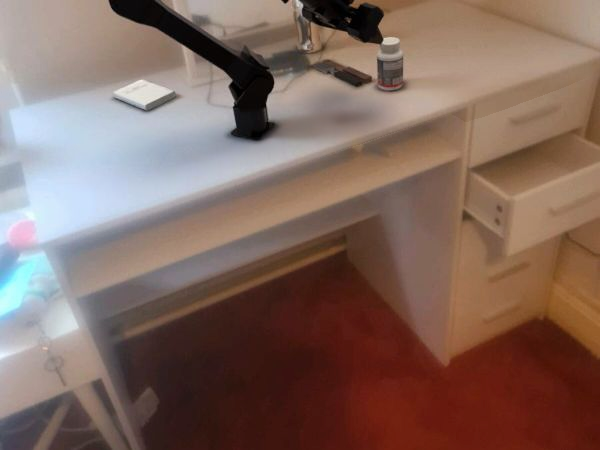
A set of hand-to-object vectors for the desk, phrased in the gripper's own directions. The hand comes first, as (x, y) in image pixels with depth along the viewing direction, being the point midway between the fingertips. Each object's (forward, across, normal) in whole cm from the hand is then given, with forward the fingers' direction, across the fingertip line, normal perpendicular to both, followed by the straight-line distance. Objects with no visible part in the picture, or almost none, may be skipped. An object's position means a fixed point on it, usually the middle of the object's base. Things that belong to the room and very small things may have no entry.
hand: (366, 36), depth 117 cm
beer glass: (+14, +30, +4) cm, 33 cm away
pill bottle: (+13, 0, +5) cm, 14 cm away
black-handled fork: (+10, +13, +8) cm, 18 cm away
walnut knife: (+12, +13, +6) cm, 18 cm away
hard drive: (-16, +35, +34) cm, 51 cm away
